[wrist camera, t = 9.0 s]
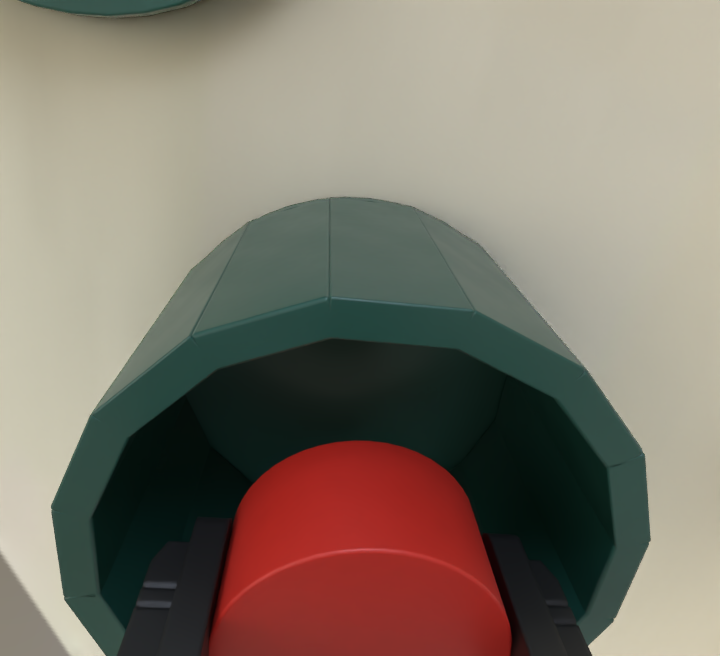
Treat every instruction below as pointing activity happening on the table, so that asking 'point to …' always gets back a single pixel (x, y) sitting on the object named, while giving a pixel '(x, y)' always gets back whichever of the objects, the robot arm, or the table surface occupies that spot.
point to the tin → (351, 404)
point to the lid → (111, 7)
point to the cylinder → (357, 561)
